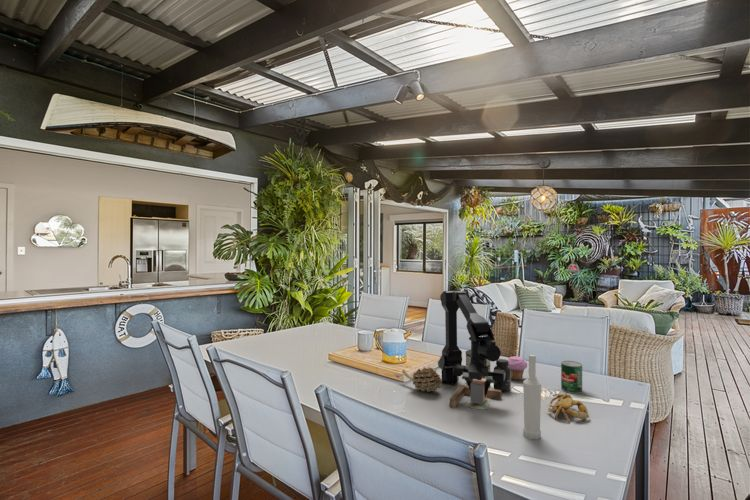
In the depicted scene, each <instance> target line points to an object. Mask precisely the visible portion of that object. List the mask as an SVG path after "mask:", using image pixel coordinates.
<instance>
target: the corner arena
mask: <svg viewBox="0 0 750 500" xmlns="http://www.w3.org/2000/svg"><path fill="white" fill-rule="evenodd" d="M464 395H467V396H471V392H470V389H469V386H467V385H466V384H459V386H457V389H456V390H455V391H454V392H453V394H452V395H451V396H450V398H449V407H450V408H454V409H455V408H457V406H458V404H459V403H460V401H461V400H462V398H463V397H464ZM492 399H493V400H494V399H495V400H500V401H501V399H502V392H501V390H496V389H494V388H489V389H488V392H487V397H486V399H485V401H484V403H483V404H477V403H471V398H470V400H469V401H468V402H467V404H466V407H467V408H472V409H478V410H482V411H486V410H487V408H488V406H489V404H490V402H491V400H492Z"/></svg>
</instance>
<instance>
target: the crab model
mask: <svg viewBox="0 0 750 500" xmlns="http://www.w3.org/2000/svg"><path fill="white" fill-rule="evenodd" d="M552 396H553V398H552V399H551V400H550V402H549V403H550V404H548V406H549V408H548V410H547V412H548V413H551V412H552V413H553V412H555V411H556V412H555V415H554V419H555V420H557V417H558V416H559V414H560V412H561V413H563V415H564V418H566V419H567V421H568V422H569V423H571V420H570V418H569V416H568V414H569V415H570V416H572V417H574V418H576V419H579V420H587V419H588V418H590V415H589V412H588V409H587V408H588V407H587V406H586V405H585V404H584V403H583V402H582V401H579V400H573V397H572V396H571V394H568V392H565V394H563V393H555V394H552ZM555 400H556V401H555ZM554 401H555V403H554V404H553V402H554ZM552 404H553V405H552ZM573 406H577V409H578V411H576V410H572V409H570V408H572V407H573Z"/></svg>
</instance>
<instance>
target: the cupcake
mask: <svg viewBox="0 0 750 500" xmlns="http://www.w3.org/2000/svg"><path fill="white" fill-rule="evenodd" d="M507 360H508V364H509V366H508V367H509V368H510V369H511V380H515V381H523V377H524V375H523V374H524V372H525V369H527V368H528V362H527V360H526V359H524V358H523V357H522V356H518V355H513V356H510V357H509V358H508V359H507Z"/></svg>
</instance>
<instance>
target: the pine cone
mask: <svg viewBox="0 0 750 500" xmlns="http://www.w3.org/2000/svg"><path fill="white" fill-rule="evenodd" d="M401 371H402V374H403V375H404V376H405V377H406V378H408V379H409V380H410V381H411V382H412V385H414V387H415V389H416V390H417V391H419V390H420V391H421V392H425V391H426V392H427V393H431V392H437V390H438V389H441V387H442V386H443V383H441V382H442V378H441V375H440V374H439V373H438V372H437V370H434V368H432V367H430V366H429V367H428V368H427V367H423V368H421V369H420V368H418V369H417V370H416V371H415V372H413V374H412V375H410V374H409V373H407V370H405V368H403V369H402V370H401Z"/></svg>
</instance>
